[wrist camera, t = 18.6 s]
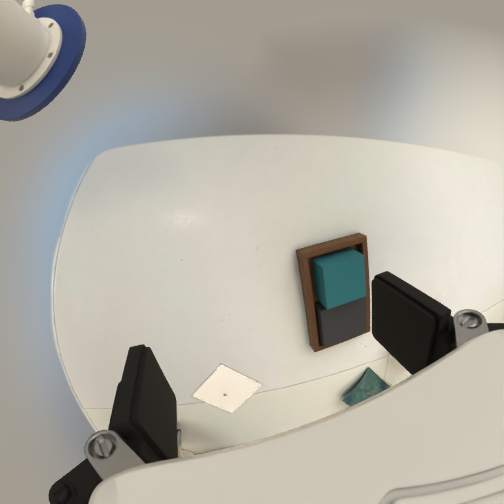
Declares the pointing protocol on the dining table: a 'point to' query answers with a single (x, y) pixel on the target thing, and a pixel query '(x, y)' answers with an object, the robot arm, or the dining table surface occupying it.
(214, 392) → the coaster
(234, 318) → the dining table surface
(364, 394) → the terrain model
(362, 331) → the charcoal pad
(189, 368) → the dining table surface
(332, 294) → the teal block
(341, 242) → the frame
